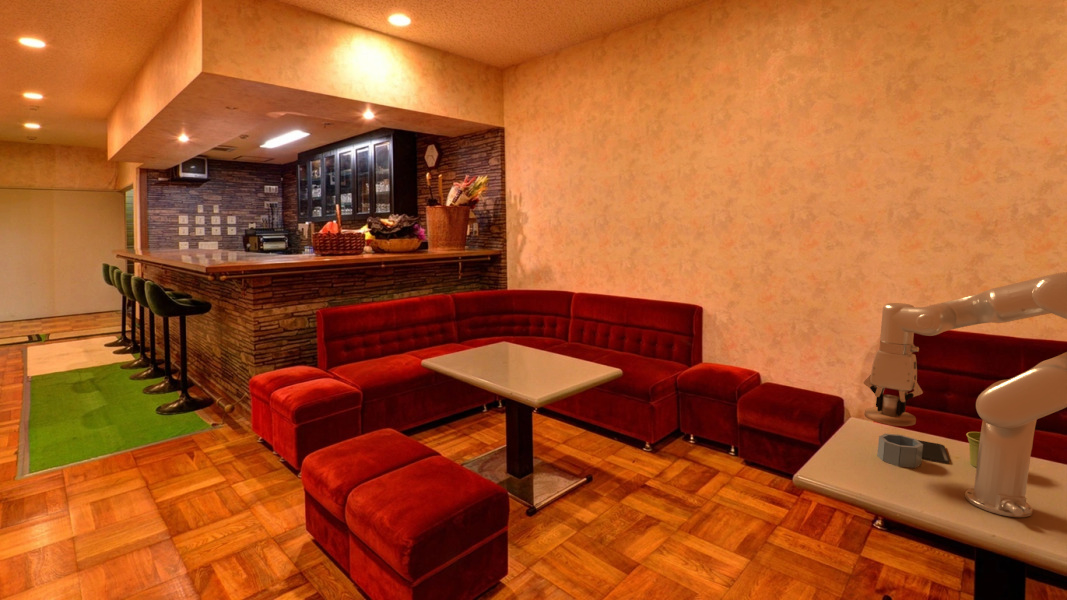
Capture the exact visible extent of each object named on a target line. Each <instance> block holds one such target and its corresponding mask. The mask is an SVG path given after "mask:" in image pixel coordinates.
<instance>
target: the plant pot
mask: <svg viewBox="0 0 1067 600" xmlns="http://www.w3.org/2000/svg"><path fill="white" fill-rule="evenodd" d="M965 435H966V437H967V440H968V446H969V463H970V464H971V466H973V467H974V468H976V467H977V459H978V450H979V442H980V435H981V431H969V432H967V433H966V434H965Z"/></svg>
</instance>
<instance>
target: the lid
mask: <svg viewBox="0 0 1067 600" xmlns="http://www.w3.org/2000/svg"><path fill="white" fill-rule="evenodd" d="M899 399H900V396H897V395H892V394H884V395H883V399H882V411H878V407H876V406H873V407H872V406H871V407H867V408H865V409H864V413H863V414H864V417H865V418H867V419H868V420H871V421H873V422H876V423H879V424H883V425H888V426H895V427H910V426H914V425H916V424H917V423H916V422H917V417H916V416H915V415H914V414H911V413H909V412H906V411H905V412H904V413H903V414H901V415H900V416H898V415H897V403H898V401H899Z"/></svg>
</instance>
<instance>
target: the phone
mask: <svg viewBox="0 0 1067 600" xmlns="http://www.w3.org/2000/svg"><path fill="white" fill-rule="evenodd" d="M917 440H918V441H919V442H921V443H922V444H923V451H922V461H929V462H935V463H939V464H944V465H947V464H950V458H949V456H948V453H947V450H946V447H945V445H944V444H942V443H935V442H930V441H924V440H919V439H917Z"/></svg>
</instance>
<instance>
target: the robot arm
mask: <svg viewBox="0 0 1067 600" xmlns="http://www.w3.org/2000/svg"><path fill="white" fill-rule="evenodd" d="M881 314H882V315H881V326H880V338H879V345H878V346H879V347H878V348H879V349H877V350H876V352H875V355H874V356H873V357H874V358H873V361H872V367H871V372H870V375H868V377H867V378H865V380H864V381H863V384H864V385H865V386H866V387H867V388H869V389H870V390H871V392H872V393H873V394H874V396H875V397H876V399H875V401H876V402H875V407H878V411H882V399H883V395H885V394H884V391H885V389H889V390H895V391H898V393H899V395H898V396H899V398H900V399H899V401H898V403H897V415H898V416H900V415H901V414H903V413H904V412H906V408H907V405H906V404H907V401H909V400H910V399H912V398H915V397H917V396H920V395H922V394H923V393H924V391H923V390H922V388H921V387H920V385H919V383H918V381H917V380H918V365H917V363H918V362H917V357H916V354H915V353H917V352H918V353H919V351H920V348H919V346H916V345H915V344H914V338H915V337H914V336H915V335H914V334H917V335H921V336H929V337H931V336H937V335H940V334H942V333H944V332H947V331H951V330H955V329H960V328H964V327H969V326H976V325H980V324H987V323H992V324H994V323H995V324H1004V323H1011V322H1016V321H1019V320H1024V319H1030V318H1034V317H1038V316H1039V317H1040V316H1044V315H1045V316H1046V315H1049V314H1053V315H1055V316H1058V317H1060V318H1062V319H1065V320H1067V272H1066V271H1065V272H1058V273H1053V274H1049V275H1044V276H1039V277H1037V278H1032V279H1028V280H1024V281H1020V282H1015V283H1011V284H1007V285H1003V286H998V287H994V288H990V289H987V290H984V291H982V292H980V293H977V294H973V295H968V296H965V297H961V298H957V299H953V300H948V301H943V302H939V303H936V304H930V305H927V306H923V307H922V306H921V307H920V306H918V307H916V306H915V305H912V304H909V303H901V302H890V303H886V304H884V305H883V307H882V313H881ZM912 390H913V391H912ZM910 391H912V392H910ZM908 392H909V393H908ZM1066 408H1067V351H1066V352H1063V353H1062V354H1058V355H1057V356H1054V357H1052V358H1049V359H1046V360H1043V361H1040V362H1038V363H1037V364H1036V365H1035V366H1033V367H1031V368H1030V369H1028V370H1026V371H1024V372H1022V373H1020V374H1018V375H1015V376H1014V377H1011V378H1009V379H1002V380H998V381H996V382H993V383H992V384H991V385H989V386H988V387H986V388H985V389H984V390H983V391H981V393H980V394H978V396H977V398H976V401H975V409H976V412H977V414H978V416H979V417H980V419H981V420H982V423H981V427H980V428H981V429H980V432H981V435H980V442H979V450H978V459H977V467H975V468H976V469H975V477H974V486H973V488H968V489H967V490H966V491H965V493H964V494H965V495H964V497H965V499H966V500H967V502H969V503H971V504H972V505H973V506H975V507H977V508H979V509H982V510H984V511H987V512H990V513H992V514H997V515H1000V516H1003V517H1004V516H1005V517H1010V518H1028V517H1030V516H1032V515H1033V507H1032V506H1031V504H1029V503H1028V502H1027V498H1026V494H1027V488H1028V486H1027V484H1028V477H1029V470H1030V462H1031V455H1032V450H1033V444H1034V436H1035V430H1036V425H1037V420H1038V419H1041V418H1044V417H1046V416H1049V415H1051V414H1053V413H1057V412H1059V411H1061V410H1063V409H1066Z"/></svg>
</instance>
